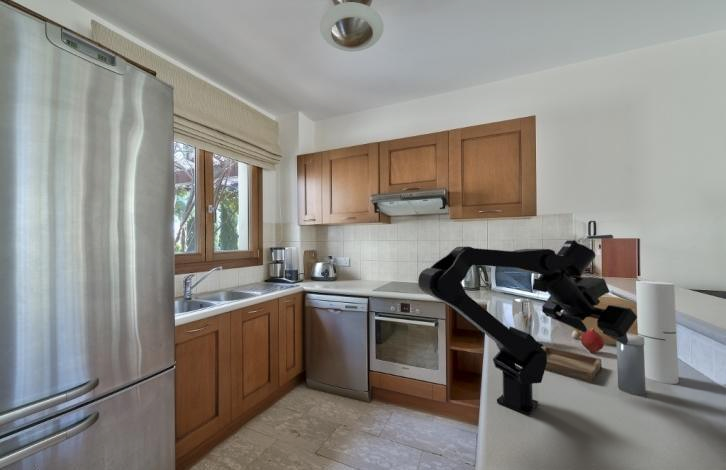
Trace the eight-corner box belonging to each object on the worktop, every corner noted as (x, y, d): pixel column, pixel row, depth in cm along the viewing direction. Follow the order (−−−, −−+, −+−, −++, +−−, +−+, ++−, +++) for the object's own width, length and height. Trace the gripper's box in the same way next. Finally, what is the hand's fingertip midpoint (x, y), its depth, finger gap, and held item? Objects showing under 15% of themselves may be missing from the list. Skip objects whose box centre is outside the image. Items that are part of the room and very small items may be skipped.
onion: (577, 351, 93) (576, 326, 93) (587, 348, 95) (586, 324, 95) (598, 357, 87) (597, 331, 88) (608, 354, 90) (607, 329, 90)
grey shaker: (645, 398, 64) (643, 340, 64) (616, 389, 67) (614, 335, 68) (647, 391, 67) (645, 336, 67) (618, 383, 71) (617, 331, 71)
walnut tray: (591, 383, 70) (591, 373, 70) (530, 365, 81) (529, 357, 81) (601, 367, 80) (601, 359, 80) (545, 353, 90) (544, 345, 90)
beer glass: (533, 346, 97) (532, 302, 98) (511, 341, 101) (510, 300, 102) (535, 340, 103) (534, 299, 103) (514, 337, 107) (513, 297, 108)
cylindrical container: (687, 385, 70) (682, 284, 71) (653, 382, 71) (649, 283, 72) (662, 372, 77) (659, 281, 78) (632, 370, 78) (629, 280, 79)
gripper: (628, 268, 57) (672, 321, 58) (550, 263, 75) (585, 303, 77) (597, 309, 55) (644, 362, 57) (525, 293, 73) (561, 334, 75)
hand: (604, 336), depth 66 cm, fingers open, 9 cm apart
